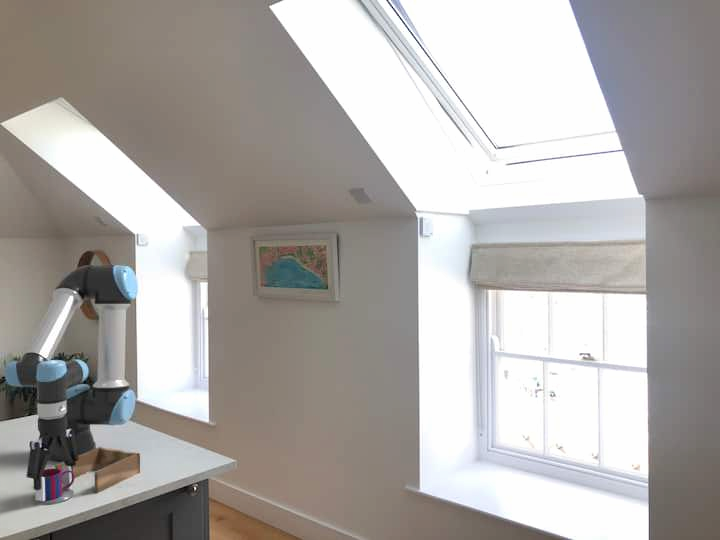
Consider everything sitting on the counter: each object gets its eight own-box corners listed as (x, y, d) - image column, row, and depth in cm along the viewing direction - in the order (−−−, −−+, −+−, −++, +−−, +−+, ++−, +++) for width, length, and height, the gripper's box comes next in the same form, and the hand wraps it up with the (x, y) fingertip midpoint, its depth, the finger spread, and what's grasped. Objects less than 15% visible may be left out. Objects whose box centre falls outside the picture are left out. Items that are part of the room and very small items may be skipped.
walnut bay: (55, 484, 192) (55, 465, 192) (99, 465, 208) (99, 447, 208) (98, 492, 186) (97, 472, 185) (140, 472, 202) (139, 453, 202)
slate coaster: (26, 501, 180) (26, 499, 180) (55, 488, 189) (55, 486, 189) (53, 506, 176) (53, 504, 176) (81, 493, 186) (81, 491, 185)
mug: (35, 494, 183) (34, 471, 183) (73, 487, 188) (73, 464, 188) (37, 502, 177) (36, 478, 177) (76, 495, 182) (75, 472, 182)
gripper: (30, 427, 170) (32, 510, 171) (91, 407, 190) (92, 482, 191) (9, 424, 173) (11, 506, 174) (72, 405, 193) (73, 478, 194)
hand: (54, 493), depth 183 cm, fingers closed on mug, 9 cm apart
